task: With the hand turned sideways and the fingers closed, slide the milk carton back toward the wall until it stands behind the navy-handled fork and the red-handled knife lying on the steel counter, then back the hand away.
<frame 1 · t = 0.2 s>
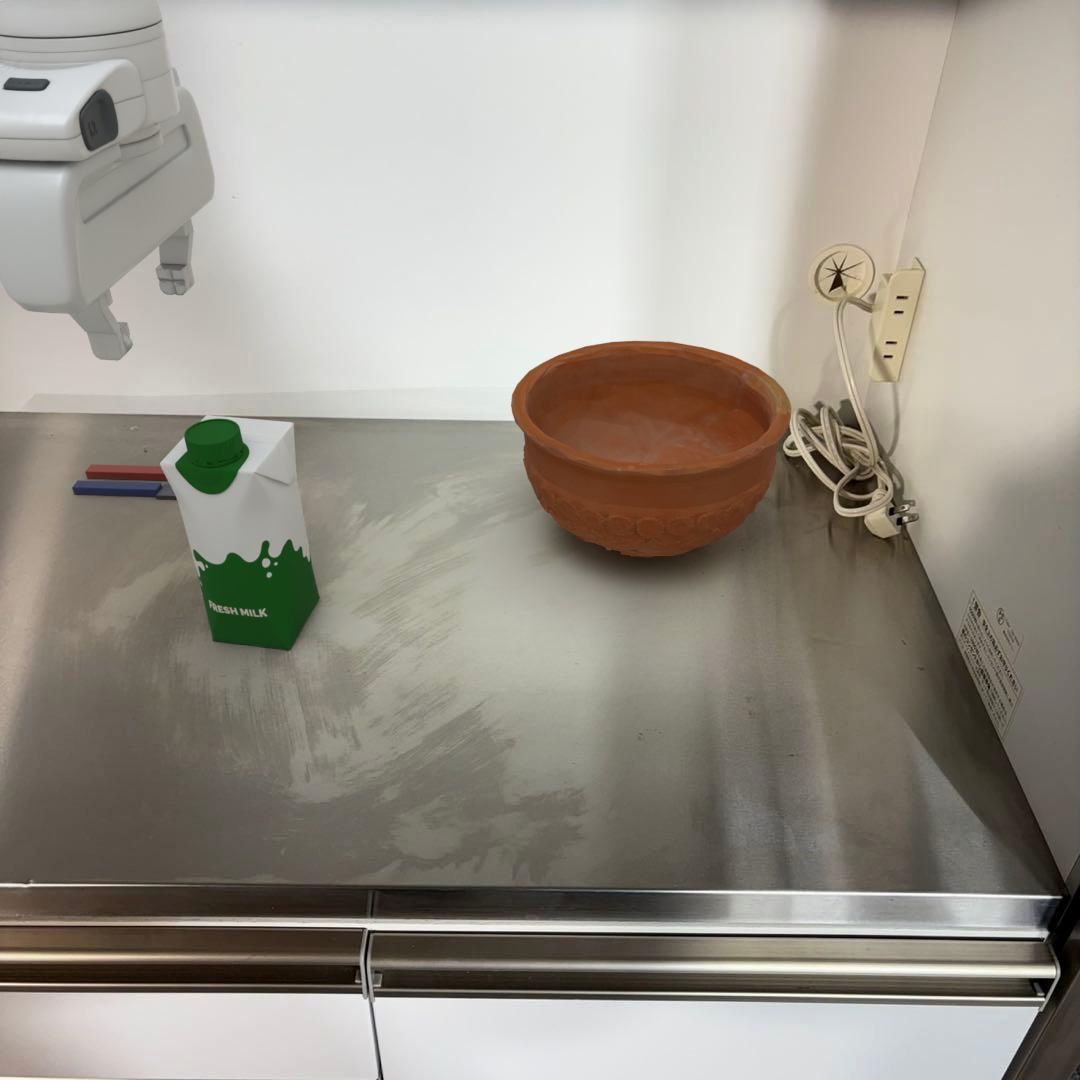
hand: (148, 321, 61), 31 cm above the worktop, tool pointing down, fingers open, 8 cm apart
bowl: (640, 533, 96), on the worktop
milk carton: (268, 620, 85), on the worktop
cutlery: (166, 485, 103), on the worktop
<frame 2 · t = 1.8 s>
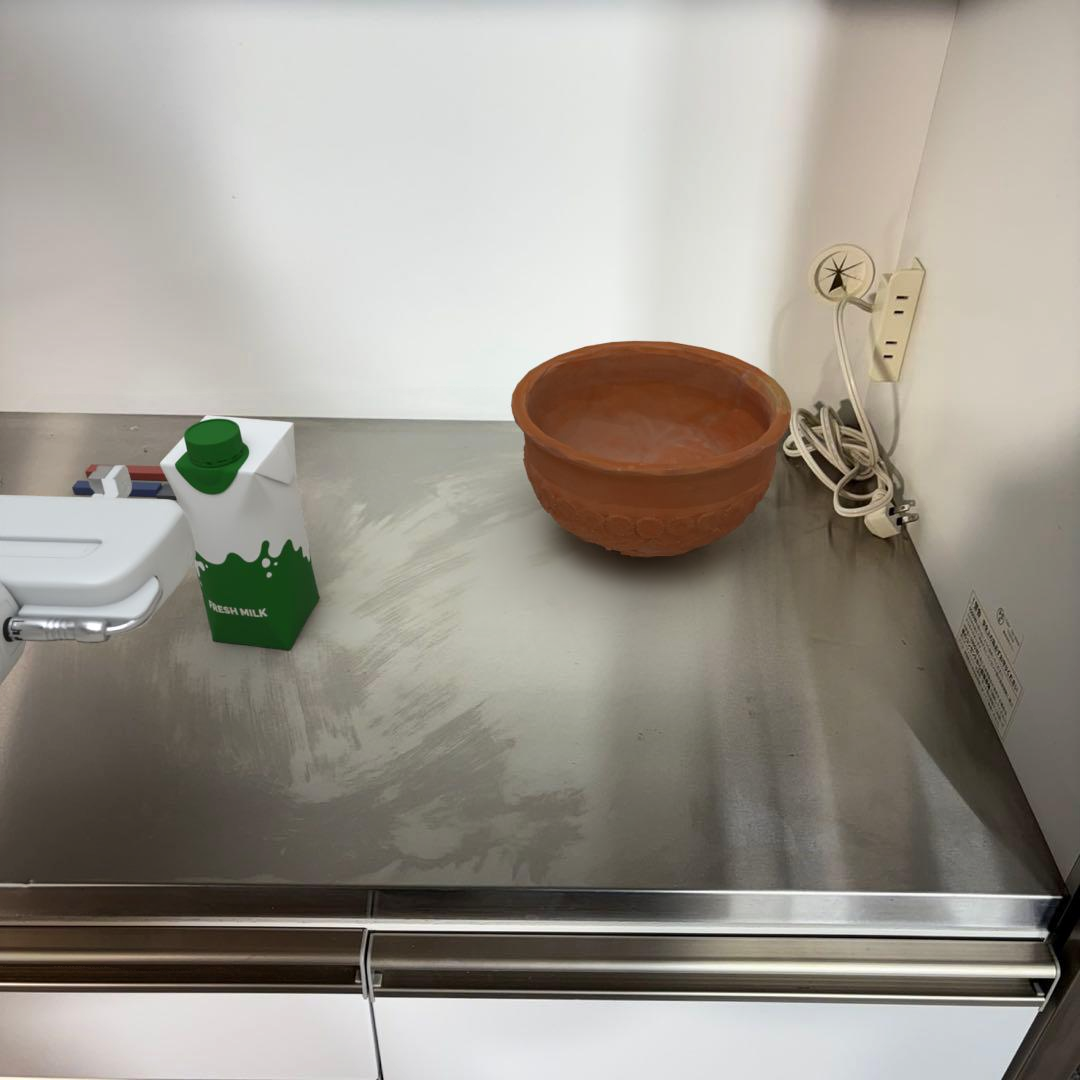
hand: (52, 473, 55), 26 cm above the worktop, tool horizontal, fingers open, 6 cm apart
nothing on the worktop moved.
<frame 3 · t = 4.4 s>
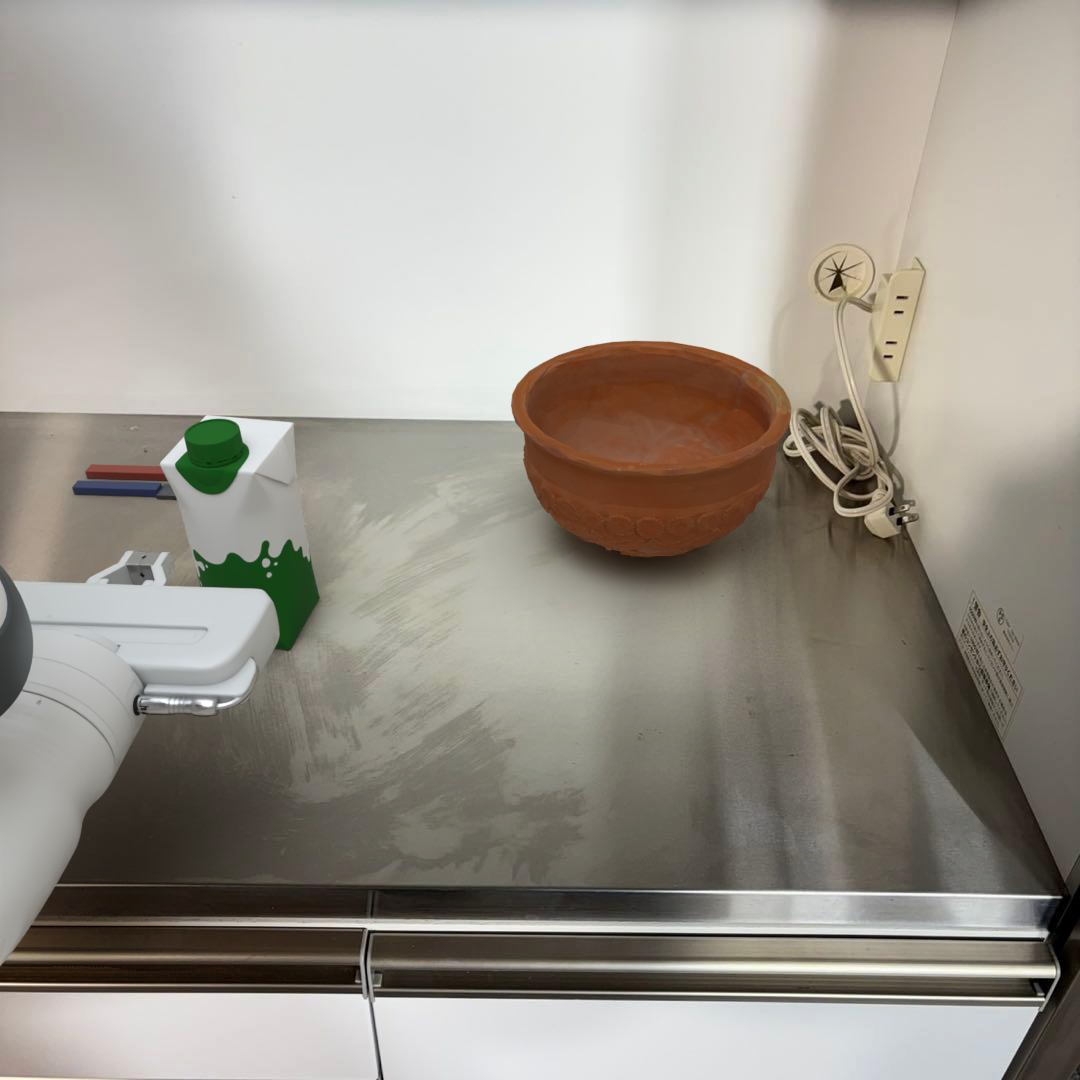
hand: (152, 559, 65), 16 cm above the worktop, tool horizontal, fingers closed
nothing on the worktop moved.
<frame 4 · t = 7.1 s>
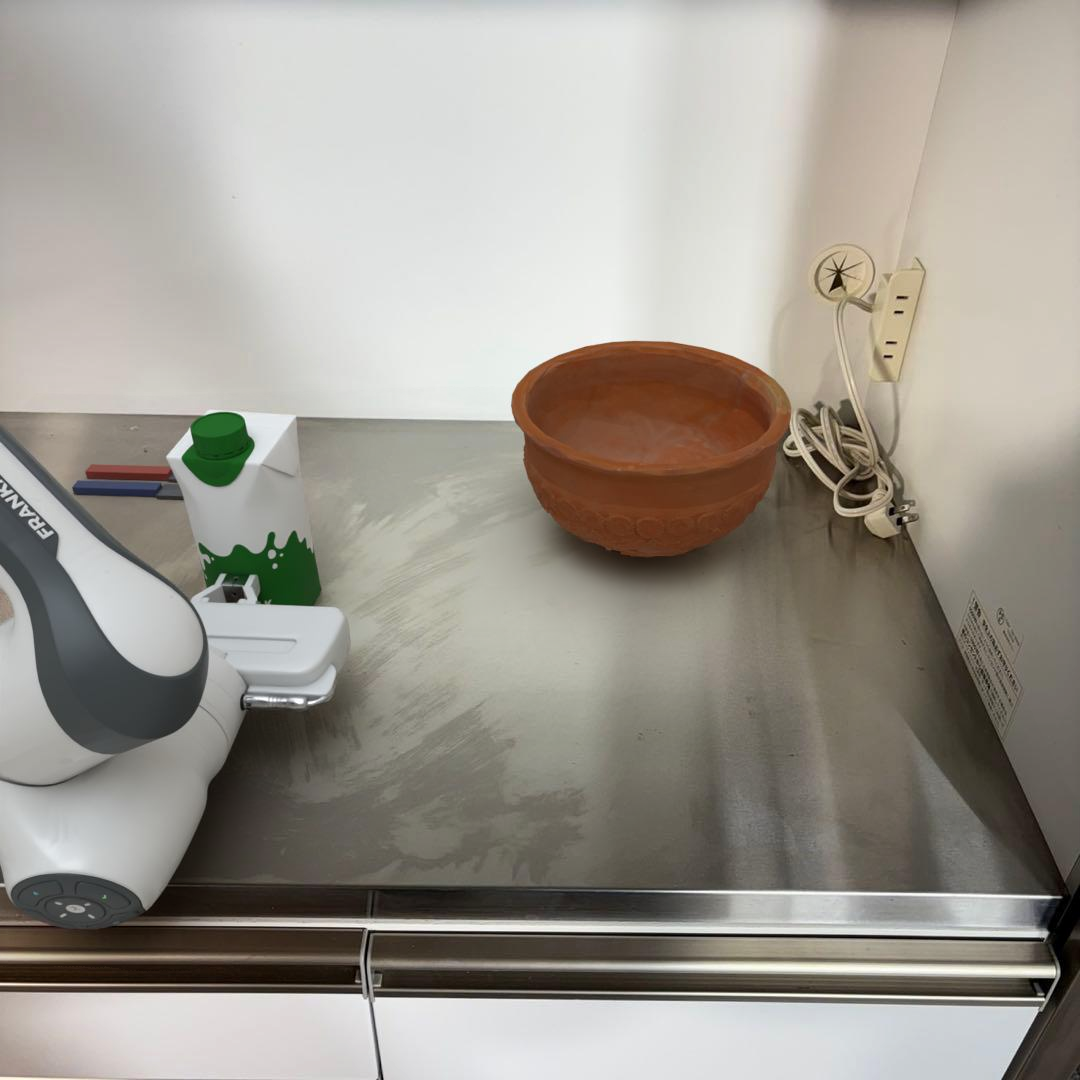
hand: (241, 580, 78), 7 cm above the worktop, tool horizontal, fingers closed, pressing on milk carton
milk carton: (272, 613, 86), on the worktop, touching gripper
everything else where it was.
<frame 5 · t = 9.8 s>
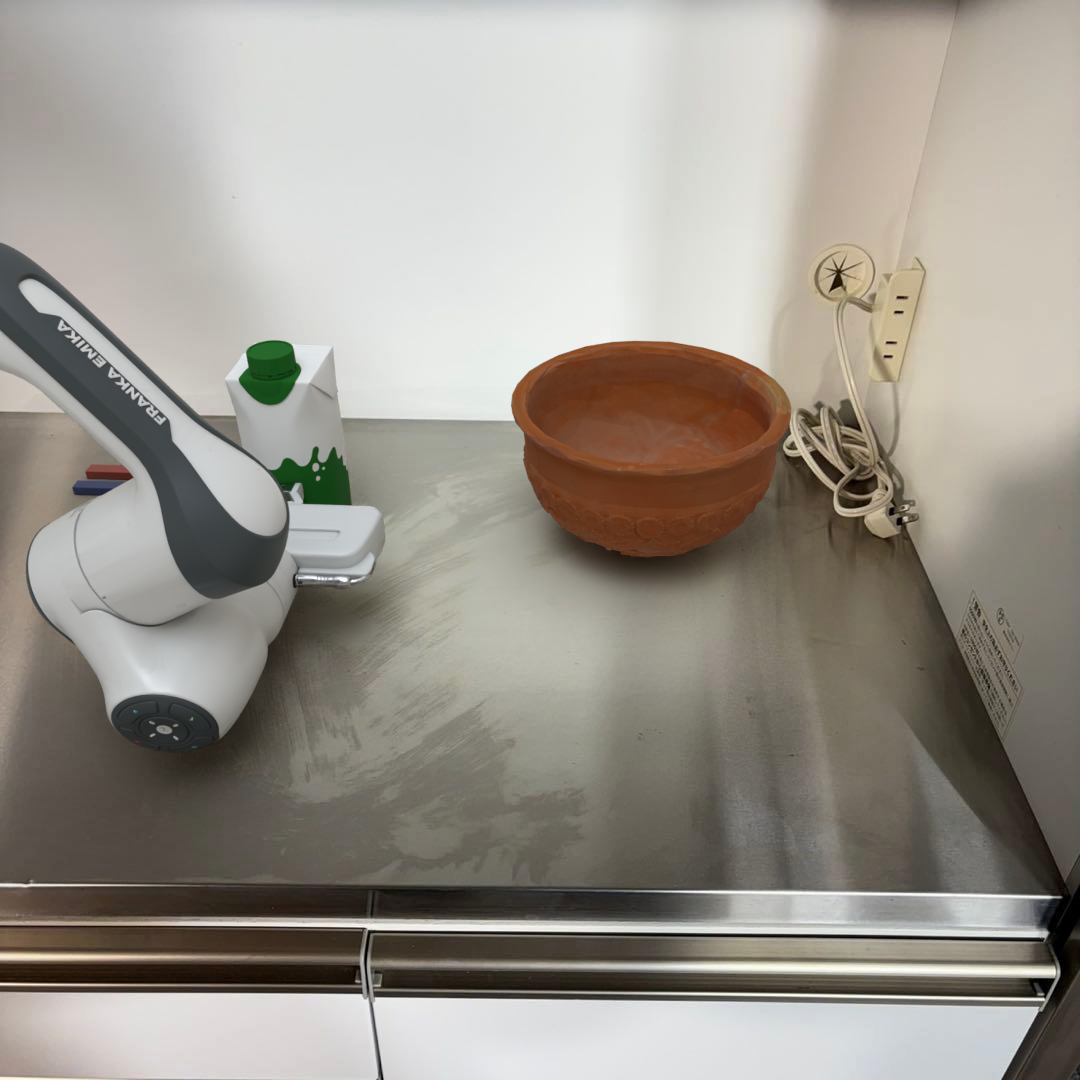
hand: (287, 488, 89), 7 cm above the worktop, tool horizontal, fingers closed, pressing on milk carton
milk carton: (309, 528, 97), on the worktop, touching gripper
everything else where it was.
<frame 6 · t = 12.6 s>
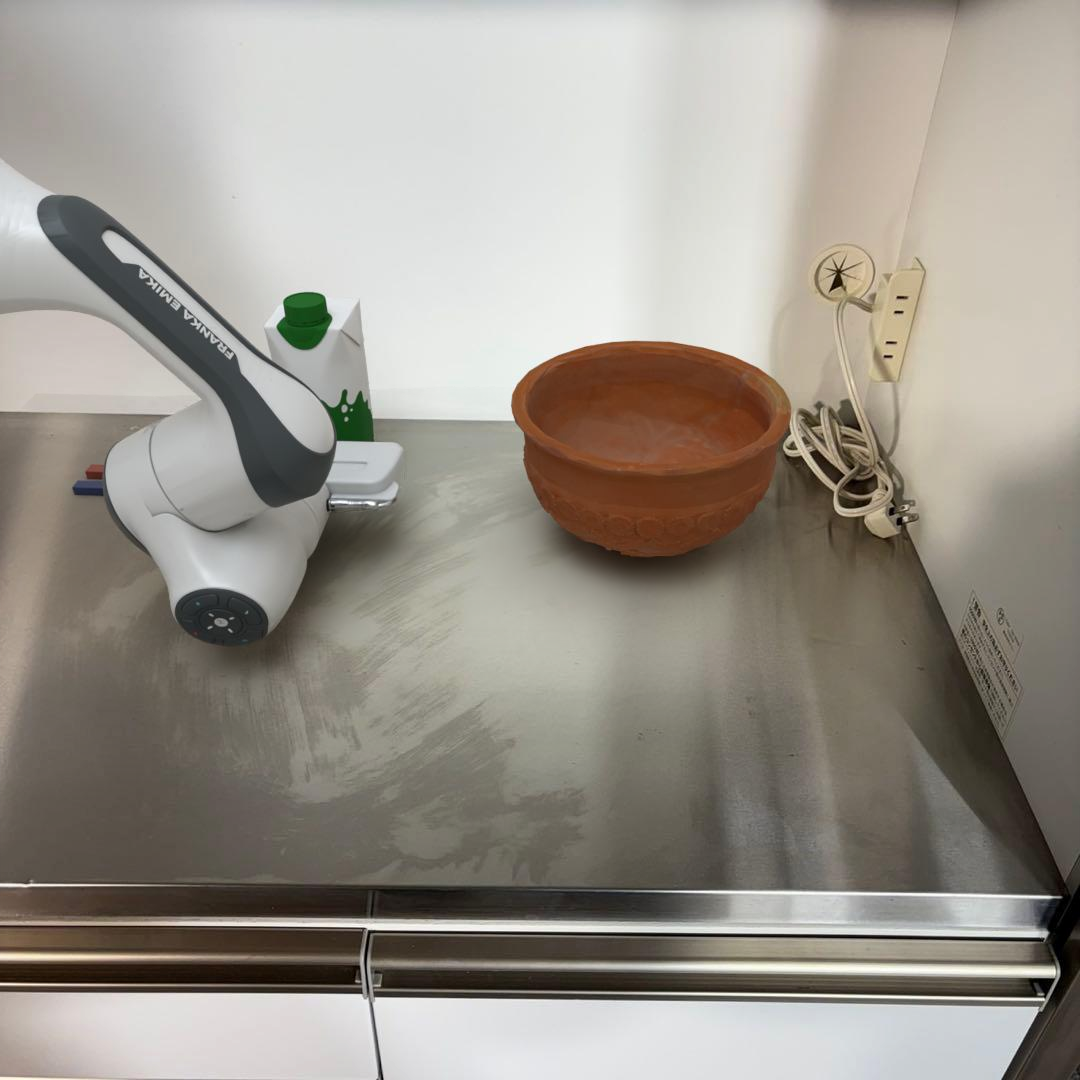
hand: (316, 430, 98), 7 cm above the worktop, tool horizontal, fingers closed
milk carton: (336, 468, 106), on the worktop
everything else where it was.
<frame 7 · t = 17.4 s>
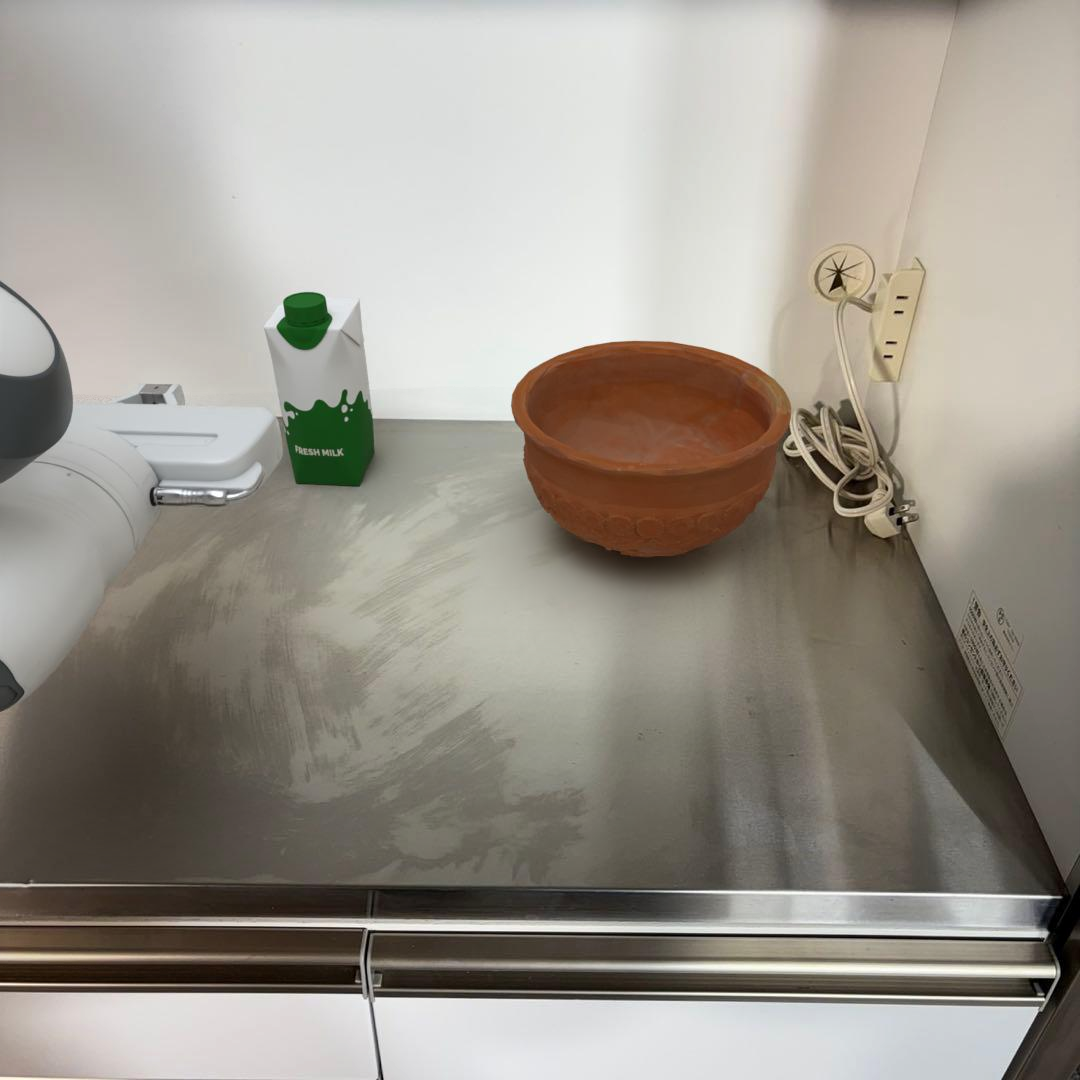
hand: (163, 392, 70), 23 cm above the worktop, tool horizontal, fingers closed
nothing on the worktop moved.
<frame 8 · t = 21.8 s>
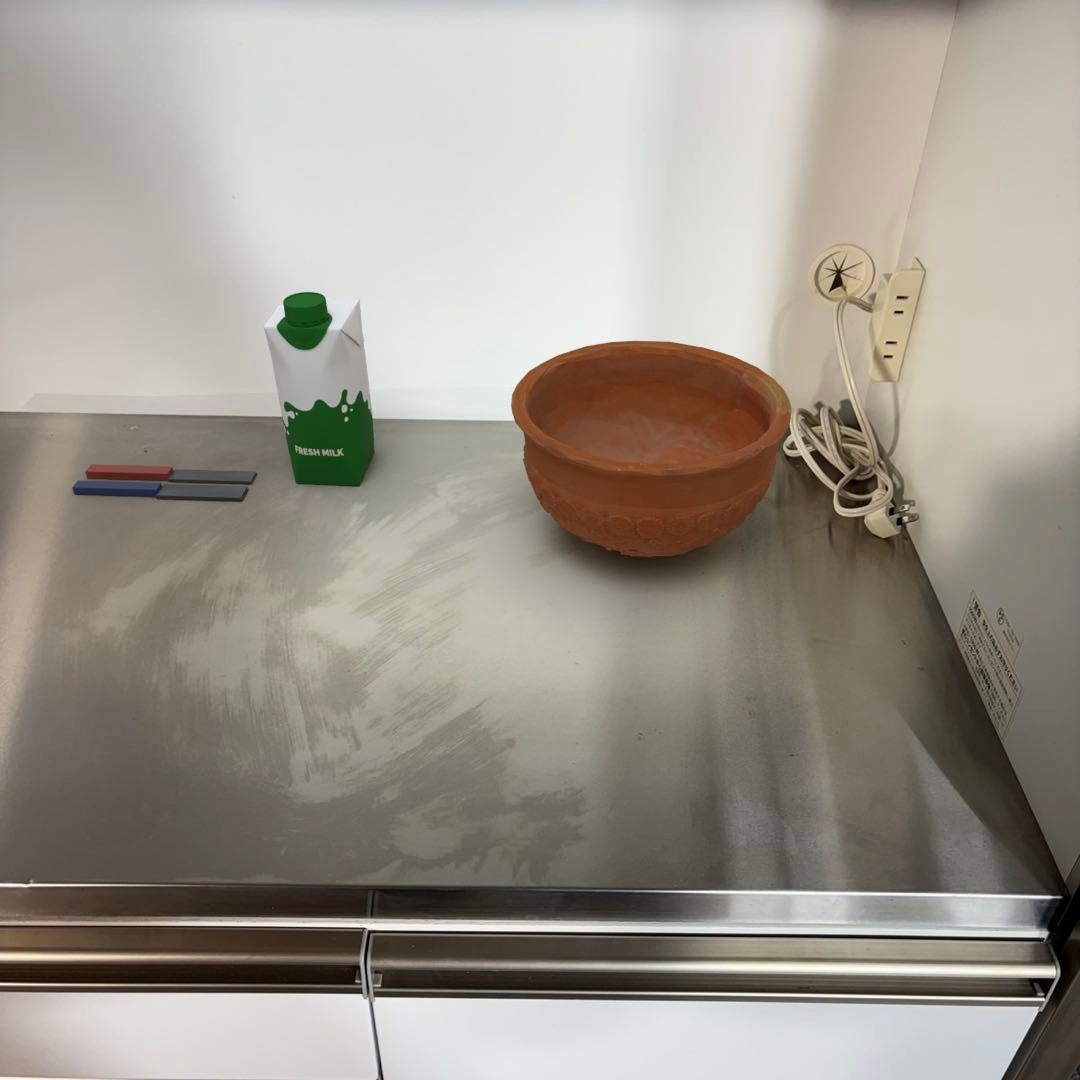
nothing on the worktop moved.
at the end: milk carton inside the target area on the worktop beside the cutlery (2.3 cm from its centre), on the worktop; milk carton tilted 0°; the gripper is holding nothing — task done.
